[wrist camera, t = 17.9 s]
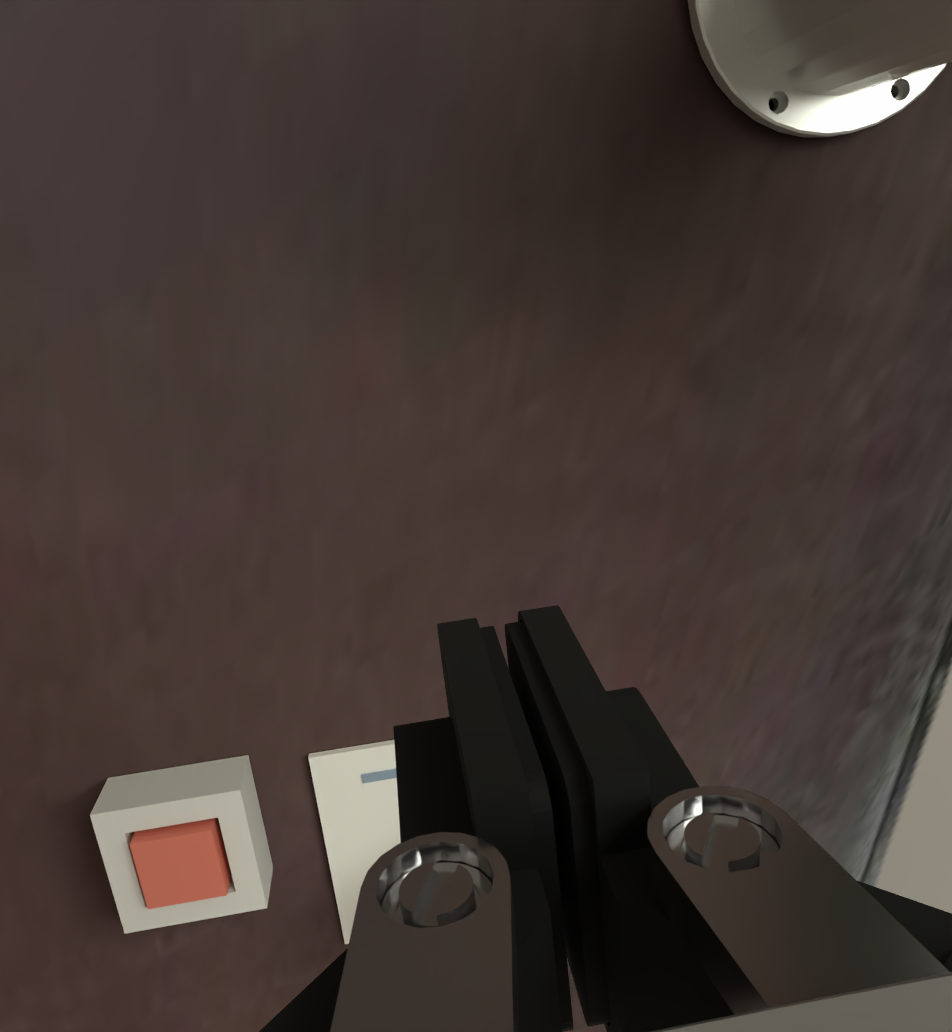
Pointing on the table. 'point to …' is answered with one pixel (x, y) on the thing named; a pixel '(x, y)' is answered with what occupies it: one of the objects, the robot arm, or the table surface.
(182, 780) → the button frame
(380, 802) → the cream rectangular board
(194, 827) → the button
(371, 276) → the table surface
